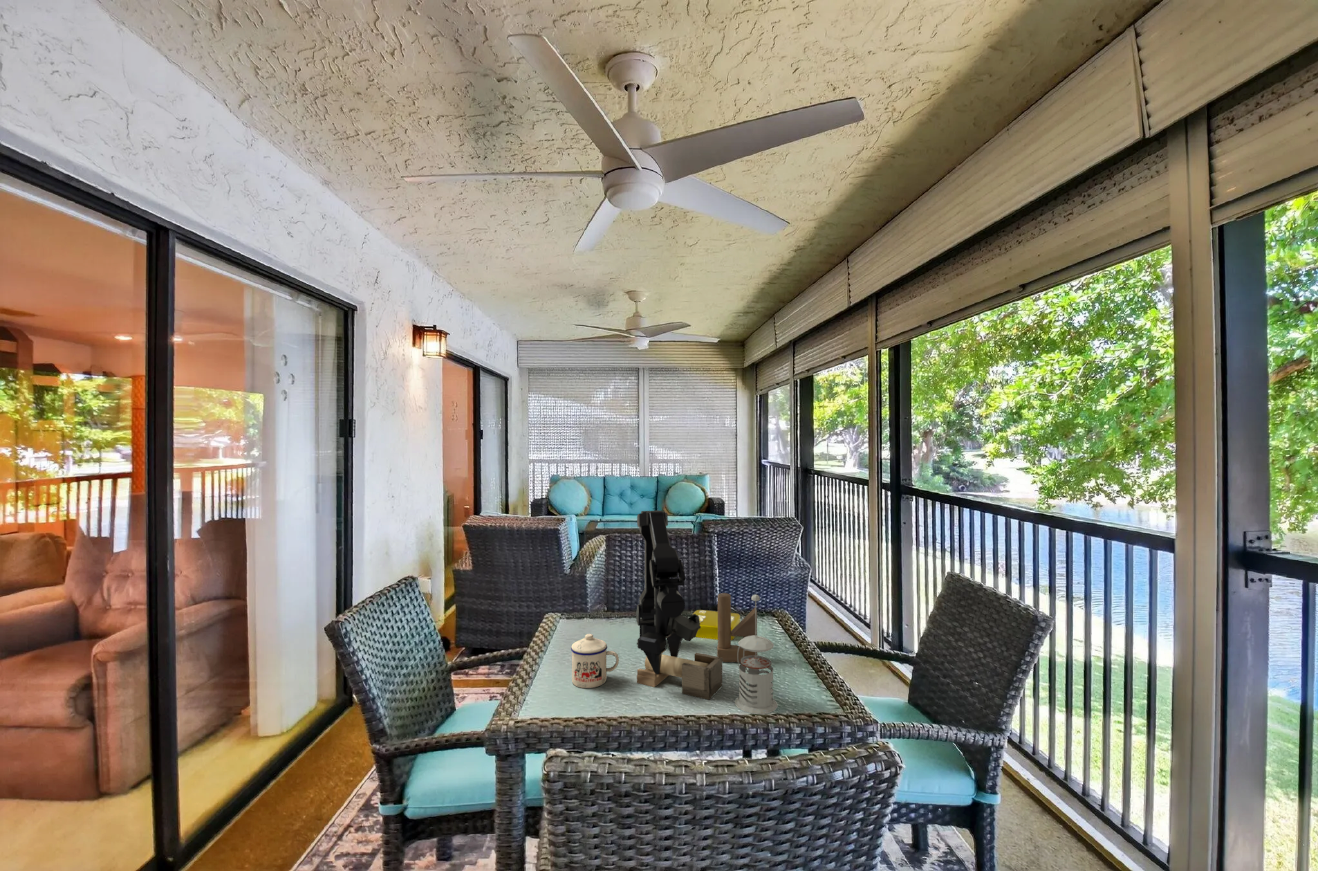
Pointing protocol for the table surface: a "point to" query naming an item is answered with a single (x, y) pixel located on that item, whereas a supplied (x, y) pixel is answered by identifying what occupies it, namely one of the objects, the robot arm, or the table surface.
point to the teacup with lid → (590, 662)
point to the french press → (755, 675)
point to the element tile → (713, 624)
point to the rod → (672, 665)
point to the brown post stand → (725, 633)
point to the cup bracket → (702, 677)
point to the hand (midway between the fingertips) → (665, 667)
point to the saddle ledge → (649, 677)
